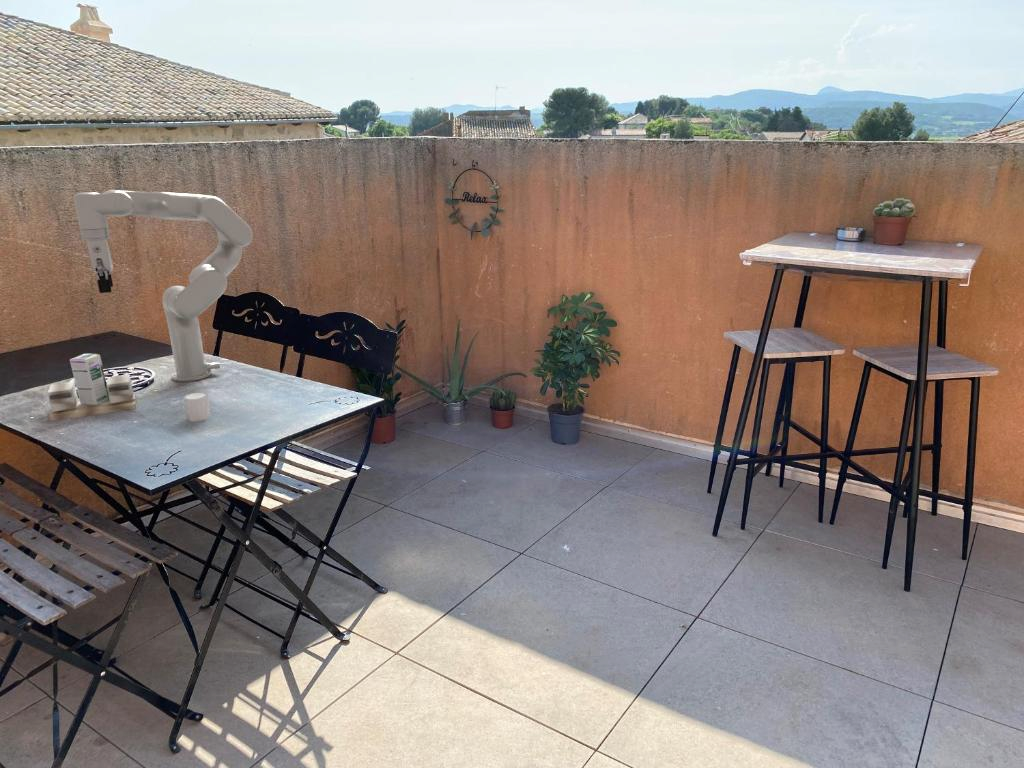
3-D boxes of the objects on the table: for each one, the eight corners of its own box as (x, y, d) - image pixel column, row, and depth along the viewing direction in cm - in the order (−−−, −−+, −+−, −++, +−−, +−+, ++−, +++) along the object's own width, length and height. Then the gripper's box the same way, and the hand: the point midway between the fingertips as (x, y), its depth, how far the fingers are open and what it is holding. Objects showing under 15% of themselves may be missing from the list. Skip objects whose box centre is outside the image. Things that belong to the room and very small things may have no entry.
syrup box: (96, 405, 205) (86, 359, 200) (79, 404, 206) (68, 358, 201) (110, 398, 210) (100, 353, 205) (93, 397, 211) (83, 352, 206)
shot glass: (204, 411, 205) (201, 390, 203) (216, 417, 201) (212, 395, 199) (182, 418, 200) (178, 396, 198) (193, 424, 196) (189, 401, 194)
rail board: (136, 396, 218) (131, 372, 215) (135, 408, 208) (130, 383, 205) (55, 407, 209) (49, 382, 206) (50, 420, 198) (44, 395, 196)
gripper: (107, 236, 202) (119, 293, 207) (110, 230, 216) (121, 284, 222) (78, 238, 199) (90, 296, 204) (83, 232, 213) (94, 286, 219)
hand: (106, 289), depth 213 cm, fingers open, 9 cm apart
